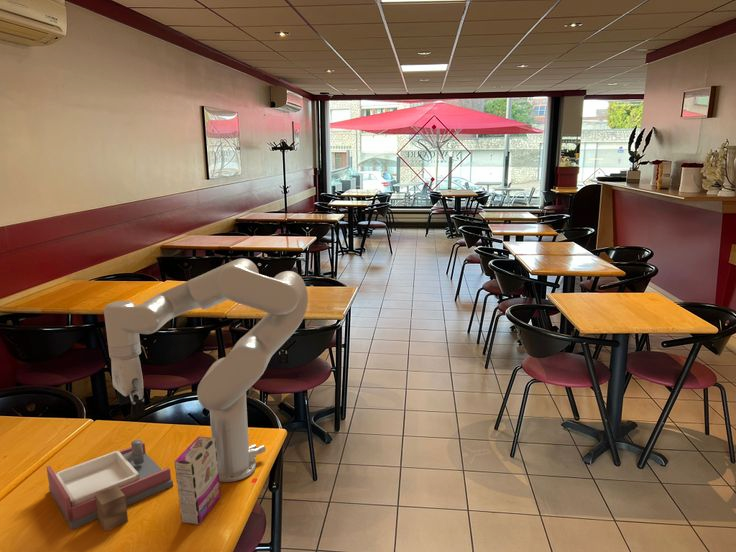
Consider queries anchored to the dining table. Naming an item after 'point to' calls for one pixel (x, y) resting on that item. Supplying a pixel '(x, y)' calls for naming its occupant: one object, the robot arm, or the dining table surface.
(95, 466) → the white tray
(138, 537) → the dining table surface
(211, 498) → the candy bar box
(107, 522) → the walnut block
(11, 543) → the dining table surface
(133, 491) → the bay
